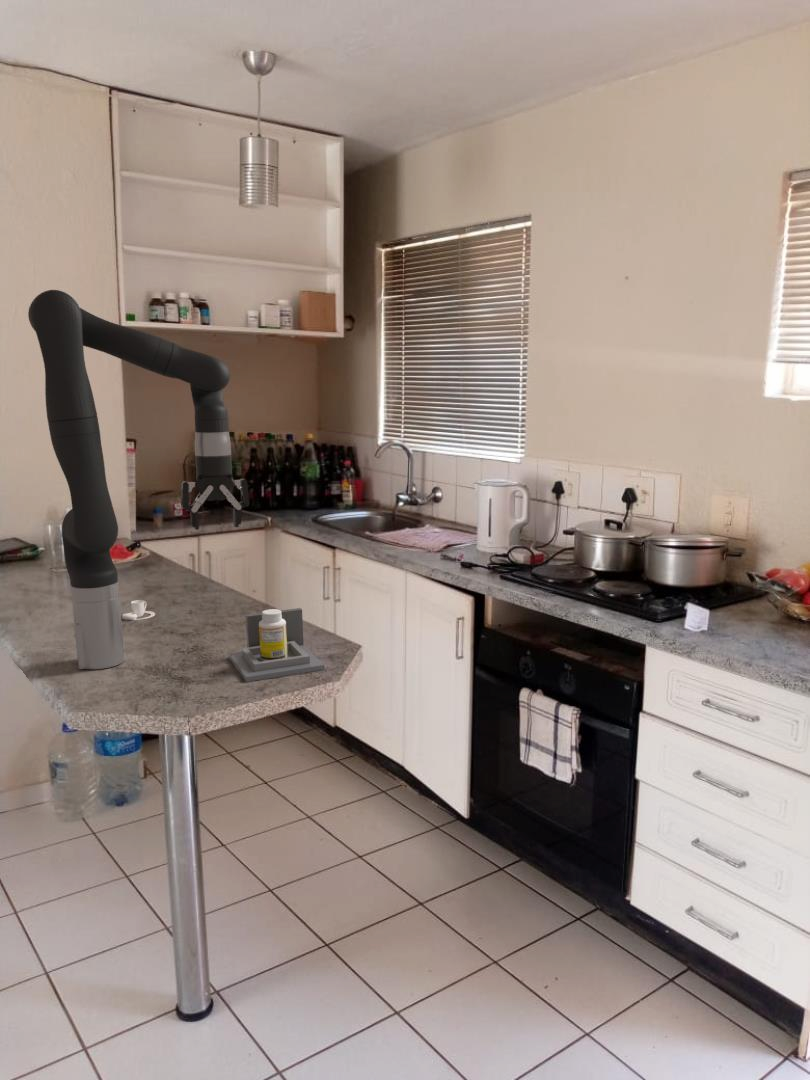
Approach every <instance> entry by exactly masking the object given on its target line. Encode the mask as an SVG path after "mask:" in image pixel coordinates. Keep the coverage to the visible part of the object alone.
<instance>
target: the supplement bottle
mask: <svg viewBox="0 0 810 1080" xmlns="http://www.w3.org/2000/svg"><path fill="white" fill-rule="evenodd" d="M281 610H282V609H277V608H275V609H274V608H271V609H270V608H269V609H265V610H262V612H261V613H262V620H261V621H260V622H259V637H260V654H261V659H262V660H263V661H268V660H275V659H281V658H287V656H288V654H287V634H286V621H285V620H284V619H282V614H281Z"/></svg>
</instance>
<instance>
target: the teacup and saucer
mask: <svg viewBox="0 0 810 1080" xmlns="http://www.w3.org/2000/svg"><path fill="white" fill-rule="evenodd" d="M130 605H131V612H127V613H122V614H121V619H123V620H126V621H139V620H140V621H141V620H146V619H151V618H153V617H155V615H156V612H154V611H150V610H149V611H148V610H146V609H147V602H146V601H145V600H143V599H138V600H137V599H136V600H132V601H131V602H130ZM132 613H133V614H132ZM144 614H151V615H149V616H146V617H143V616H144ZM139 617H142V618H139Z"/></svg>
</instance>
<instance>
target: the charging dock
mask: <svg viewBox="0 0 810 1080" xmlns="http://www.w3.org/2000/svg"><path fill="white" fill-rule="evenodd" d="M280 610H281V614H282V619H284V620H285V621H286V634H287V654H288V656H287V658H281V659H275V660H268V661H263V660H262V659H261V654H260V637H259V622H260V621H261V620H262V612H259V613H249V614H245V629H246V647H242V648H241V651H237V652H230V653H228V659H229V660H230V661H231V663H232V664H233V665H234V667H235V668H236V670H237V671H238V673H239V674H240V676H241V677H242V678H243V679H244V681H245V682H246V683H249V682H254V681H261V680H267V679H274V678H275V679H276V678H280V677H287V676H293V675H298V674H300V675H301V674H305V673H312V672H318V671H325V664H324V663H323V662H322V661H321V660H320V659H319V658H318V657H317V656H315V654H314V653H312V651H310V650H309V649H308V648H307V646H305V644H304V627H303V624H304V623H303V620H304V619H303V609H302V608H301V607H298V608H289V609H280Z"/></svg>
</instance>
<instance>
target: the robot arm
mask: <svg viewBox="0 0 810 1080" xmlns="http://www.w3.org/2000/svg"><path fill="white" fill-rule="evenodd" d="M27 315H28V321H29V323H30V327H32V329H33V330H34V332H35V334H36V337H37V341H38V344H39V348H40V352H41V357H42V361H43V366H44V373H45V374H44V376H45V380H44V381H45V382H44V383H45V385H44V387H45V388H44V389H45V390H44V391H45V392H44V393H45V395H44V396H45V409H46V418H47V425H48V430H49V437H50V441H51V445H52V448H53V450H54V454H55V456H56V459H57V461H58V463H59V466H60V468H61V471H62V473H63V475H64V477H65V479H66V482H67V485H68V490H69V493H70V494H69V495H70V499H71V500H70V501H71V502H70V503H71V507H72V508H71V509H70V510H69V511H68V512H67V513H66V514H65V516H64V517H63V520H62V525H61V537H62V545H63V554H64V561H65V568H66V571H67V573H68V576H69V581H70V591H71V592H70V593H71V600H72V610H73V611H72V612H73V626H74V627H73V628H74V637H75V646H76V647H75V649H76V657H77V659H76V660H77V665H78V670H101V669H107V668H108V669H109V668H113V667H116V666H119V665H120V664H122V663H124V662H125V659H126V657H125V646H124V635H123V626H122V613H121V599H120V588H119V578H118V570H117V568H116V566H115V563H114V561H113V558H112V555H111V549H112V548H113V546H114V545H115V544H116V542H117V539H118V534H119V524H118V521H117V517H116V513H115V509H114V507H113V502H112V499H111V495H110V492H109V488H108V483H107V478H106V476H107V475H106V469H105V468H106V467H105V460H104V453H103V447H102V446H103V445H102V440H101V430H100V425H99V417H98V412H97V408H96V403H95V398H94V394H93V390H92V386H91V382H90V379H89V375H88V371H87V368H86V361H85V352H84V347H86V348H89V349H93V350H95V351H99V352H103V353H105V354H107V355H111V356H113V357H115V358H117V359H120V360H122V361H125V362H128V363H129V364H132V365H134V366H137V367H139V368H141V369H144V370H146V371H150V372H152V373H155V374H157V375H159V376H163V377H166V378H170V379H178V380H181V381H182V382H185V383H187V384H189V385H190V393H191V398H192V402H193V407H194V431H195V436H194V449H193V450H194V455H195V474H196V475H195V481H186V480H183V481H182V482H181V483H180V484H181V485H180V487H181V488H180V489H181V490H180V491H181V493H180V497H181V498H180V503H181V504H180V505H181V508H182V510H184V511H188V512H189V513H190V525H191V527H192V528H194V530H196V531H198V530H199V529H200V524H199V523H200V521H199V512H198V510H199V509H200V507H201V506H202V505H203V504H204V503H205V502H206V501H208V502H212V501H224V500H225V499H226V500H227V501H228V502H229V503H230V505H231V506H232V507H233V509H232V517H233V518H232V519H233V527H234V528H239V526H240V525H242V510H243V509H244V508H248V507H249V506H250V496H249V485H248V480H247V479H245V478H240V479H234V478H233V469H232V468H233V466H232V447H231V446H232V443H231V437H230V432H229V431H230V425H229V423H230V421H229V413H228V408H227V406H226V405H225V402H224V394H223V392H224V391H223V389H225V388H226V387H227V386H228V385H229V383H230V381H231V373H230V369H229V367H228V366H227V364H226V363H225V362H224V361H223V360H221V359H219V358H217V357H215V356H212V355H209V354H206V353H203V352H199V351H196V350H192V349H189V348H186V347H183V346H181V345H179V344H176V343H174V342H171V341H169V340H166V339H164V338H162V337H159V336H156V335H154V334H151V333H148V332H145V331H142V330H138V329H134V328H132V327H127V326H124V325H120V324H117V323H114V322H112V321H109V320H107V319H104V318H101V317H98V316H96V315H95V314H92V313H90V312H89V311H87V310H86V309H83V308H81V307H80V306H79V304H78V302H77V301H76V300H75V298H73V297H72V296H71V295H70V294H68V293H67V292H65V291H62V290H59V289H49V290H44V291H43V292H41V293H39V294H38V295H36V296H35V298H33V300H32V301H31V303H30V305H29V307H28V312H27ZM235 486H236V489H238V490H240V500H241V501H238V500H237V499H236V498H235V496H234V495H233V494H232V493H231V492H232V490H233V488H234V487H235ZM193 488H195V490H197V492H198V494H197V496H196V497H195V499H194V501H193V503H191V504H189V494H190V493H192V490H193Z"/></svg>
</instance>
